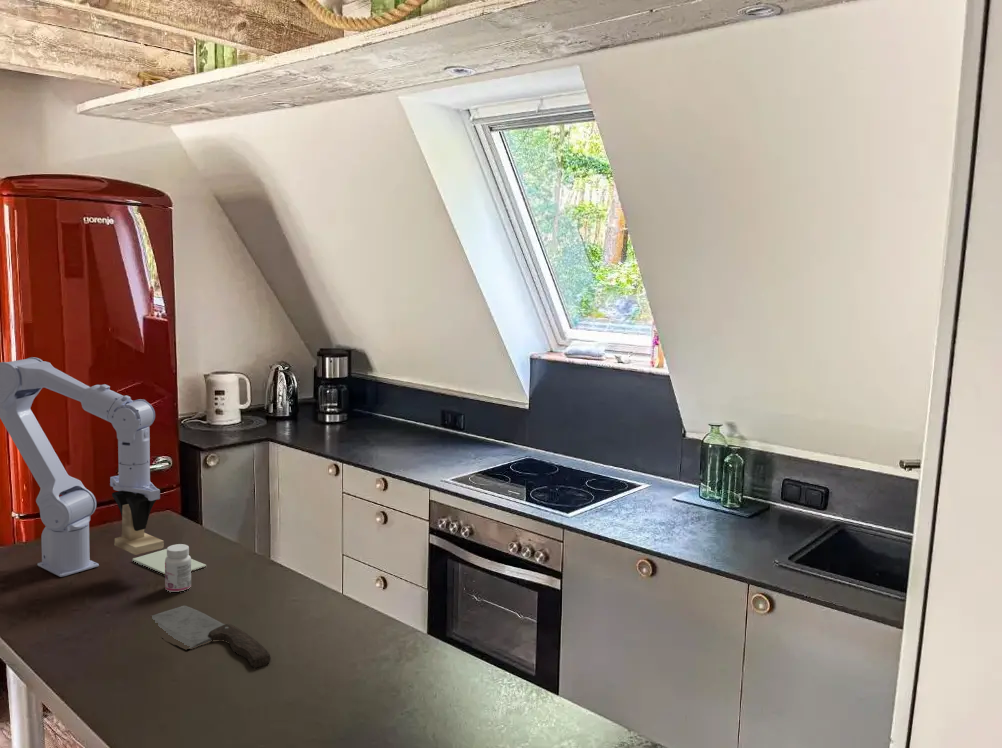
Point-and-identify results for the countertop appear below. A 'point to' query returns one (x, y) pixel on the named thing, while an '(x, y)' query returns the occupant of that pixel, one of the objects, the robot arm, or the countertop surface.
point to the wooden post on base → (135, 536)
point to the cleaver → (209, 633)
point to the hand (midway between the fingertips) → (135, 527)
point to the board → (161, 561)
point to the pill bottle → (177, 568)
